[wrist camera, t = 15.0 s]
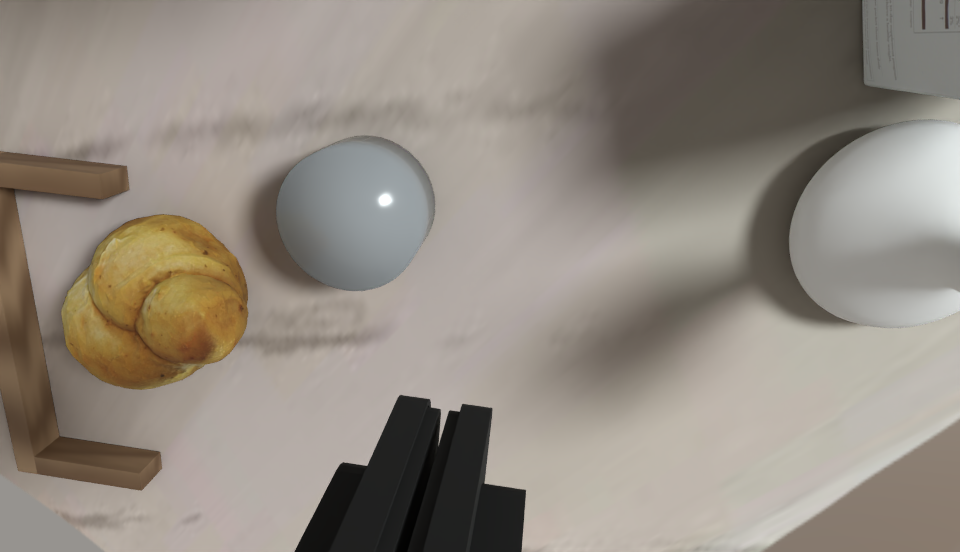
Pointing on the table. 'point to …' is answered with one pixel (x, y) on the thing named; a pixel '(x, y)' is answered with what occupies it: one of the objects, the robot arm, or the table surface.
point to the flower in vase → (884, 227)
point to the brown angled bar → (18, 345)
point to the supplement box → (912, 46)
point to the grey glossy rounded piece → (356, 212)
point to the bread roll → (155, 304)
